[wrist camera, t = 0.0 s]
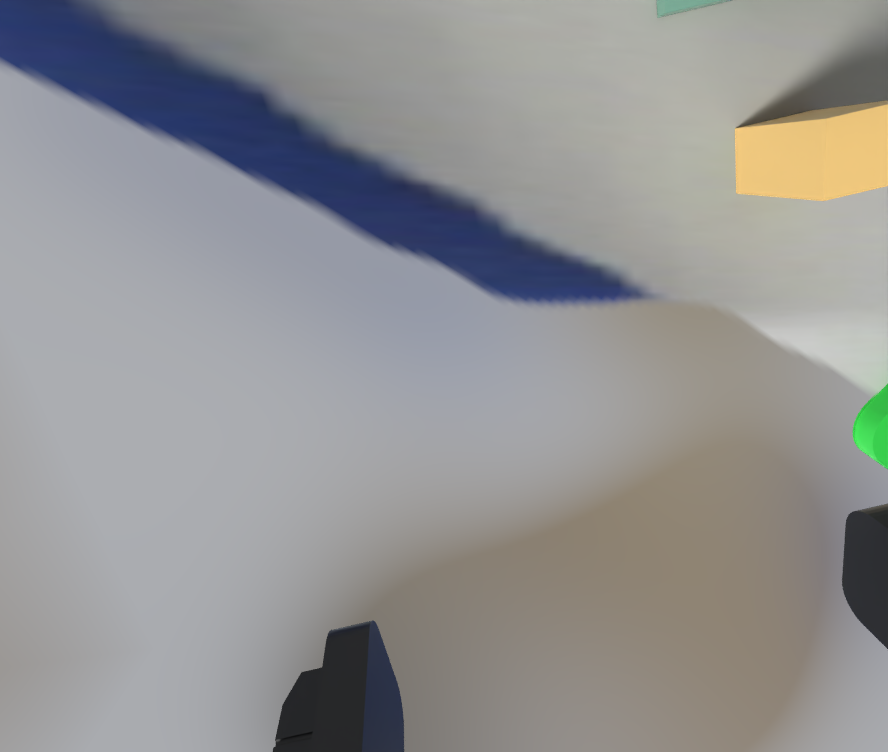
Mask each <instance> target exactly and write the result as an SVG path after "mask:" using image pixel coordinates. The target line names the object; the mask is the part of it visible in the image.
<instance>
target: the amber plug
mask: <svg viewBox="0 0 888 752" xmlns="http://www.w3.org/2000/svg"><path fill="white" fill-rule="evenodd" d="M735 151H736V193H737V194H748V195H760V196H771V197H783V198H794V199H806V200H818V201H826V200H830V199H834V198H838V197H843V196H847V195H851V194H856V193H860V192H864V191H868V190H873V189H877V188H881V187H886V186H888V100H887V101H879V102H872V103H864V104H856V105H849V106H841V107H833V108H826V109H818V110H811V111H807V112H803V113H799V114H794V115H790V116H786V117H781V118H777V119H773V120H769V121H764V122H760V123H756V124H752V125H747V126H743V127H739V128H735Z"/></svg>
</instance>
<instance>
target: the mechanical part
mask: <svg viewBox="0 0 888 752" xmlns="http://www.w3.org/2000/svg"><path fill="white" fill-rule="evenodd" d="M853 439H854V442H855V444H856V446H857V447H858V448H859V449H860V450H861V451H862V452H864V453H865V454H867V455H868V456H869V457H871V458H872V459H874V460H875V461H876V462H878V463H879V464H881V465H882V466H884V467H885V468H887V469H888V384H887V385H886V386H885V387H884V388H883V389H882V390H881V391H880V392H879V393H878V394H875V395H874V396H873V397H872V398H871V399H870V400H869V401H868V402H867V403H866V404H865V405H864V406H863V408H862V409H861V411H860V412H859V413H858V415H857V417H856V420H855V422H854V425H853Z"/></svg>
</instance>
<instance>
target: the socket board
mask: <svg viewBox="0 0 888 752" xmlns="http://www.w3.org/2000/svg"><path fill="white" fill-rule="evenodd" d="M727 1H731V0H657V14H658V18H659V17H664V16H668V15H672V14H676V13H681V12H685V11H689V10H693V9H697V8H702V7H706V6H710V5H714V4H719V3H723V2H727Z"/></svg>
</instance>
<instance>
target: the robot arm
mask: <svg viewBox="0 0 888 752" xmlns="http://www.w3.org/2000/svg"><path fill="white" fill-rule="evenodd" d="M842 586H843V591H844V595H845V597H846V600H847V602H848V604H849V606H850V608H851V609H852V611H853V612H854V614H855V616H856V617H857V618H858V619H859V621H860V622H861V623H862V624H863V625H864V626H865V627H866V628H867V629H868V630H869V631H870V632H871V633H872V634H873V635H874V636H875V637H876V638H877V639H878V640H879V641H880V642H881V643H882V644H883V645H884V646H885V647H886V648H887V649H888V504H884V505H880V506H876V507H871V508H867V509H862V510H858V511H854V512H852V513H850V514H849V516H848V517H847V520H846V528H845V544H844V560H843V576H842ZM275 741H276V747H274V748H273V752H404V719H403V709H402V702H401V696H400V691H399V687H398V683H397V681H396V677H395V675H394V672H393V669H392V666H391V663H390V660H389V657H388V654H387V652H386V649H385V646H384V643H383V640H382V637H381V634H380V631H379V629H378V626H377V624H376V622H375V621H369V622H364V623H360V624H356V625H351V626H347V627H343V628H338V629H334V630H331V631H329V633H328V636H327V640H326V647H325V653H324V660H323V667H322V668H319V669H314V670H310V671H305V672H302V673H301V674H300V676H299V678H298V679H297V681H296V683H295V685H294V686H293V688H292V690H291V691H290V693H289V695H288V697H287V698H286V700H285V702H284V704H283V706H282V711H281V715H280V720H279V725H278V729H277V734H276V739H275Z"/></svg>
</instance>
